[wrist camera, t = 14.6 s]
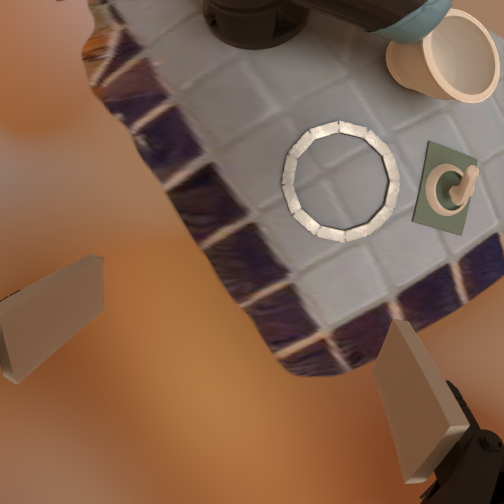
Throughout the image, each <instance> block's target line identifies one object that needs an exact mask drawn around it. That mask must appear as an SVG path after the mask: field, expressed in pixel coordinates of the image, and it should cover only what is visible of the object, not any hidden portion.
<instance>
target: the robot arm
mask: <svg viewBox="0 0 504 504" xmlns="http://www.w3.org/2000/svg"><path fill="white" fill-rule="evenodd" d="M452 1H453V0H203V14H204V18H205V21H206V23H207V24H208V26H209V27H210V29H211V30H212V32H213V33H214V34H215V35H216V36H217V37H218V38H219V39H221V40H222V41H224V42H225V43H227V44H229V45H232V46H235V47H238V48H243V49H266V48H271V47H275V46H278V45H280V44H283V43H285V42H287V41H288V40H290V39H292V38H293V37H294V36H296V35H297V34H298V33H299V32H300V31H301V29H302V28H303V27H304V25H305V23H306V21H307V18H308V15H309V9H311V10H314V11H317V12H320V13H323V14H326V15H329V16H331V17H334V18H337V19H340V20H342V21H345V22H347V23H350V24H352V25H355V26H357V27H360V28H362V29H364V31H365V32H367V33H369V34H374V35H379V36H381V37H383V38H386V39H388V40H390V41H393V42H395V43H398V44H413V43H416V42H418V41H420V40H422V39H423V38H425V37H426V36H427V35H428V34H430V33H431V32H432V31H433V30H434V29H435V28H436V27H437V26H438V24H439V23H440V22H441V21H442V20H443V18H444V17H445V16H446V14H447V13H448V11H449V10H450V8H451V6H452V4H451V2H452ZM103 263H104V258H103V257H101V256H97V255H93V254H90V255H87V256H85V257H83V258H81V259H79V260H77V261H75V262H74V263H71V264H69V265H67V266H65V267H63V268H62V269H60V270H58V271H56V272H54V273H52V274H50V275H49V276H46V277H45V278H42V279H41V280H39V281H37V282H35V283H33V284H31V285H29V286H28V287H26V288H24V289H22V290H18V291H16V292H15V293H13V294H11V295H10V296H7V297H6V298H4V299H3V300H0V366H1V369H2V372H3V375H4V377H6V378H7V379H9V380H10V381H12V382H13V383H15V384H16V385H18V384H19V383H20V382H21V381H22V380H23V379H24V378H26V377H27V375H29V374H30V373H31V372H32V371H33V370H34V369H36V368H37V367H38V366H39V365H40V364H41V363H42V362H43V361H45V360H46V359H47V358H48V357H49V356H50V355H51V354H53V353H54V352H55V351H56V350H57V349H58V348H59V347H60V346H62V345H63V344H64V343H65V342H66V341H68V340H69V339H70V338H71V337H72V336H73V335H75V334H76V333H77V332H78V331H79V330H80V329H82V328H83V327H84V326H85V325H86V324H88V323H89V322H90V321H91V320H92V319H94V318H95V317H96V316H97V315H98V314H99V313H101V312H102V311H103V310H104V301H103V300H104V298H103ZM373 373H374V377H375V380H376V383H377V386H378V389H379V392H380V396H381V399H382V402H383V405H384V409H385V412H386V415H387V419H388V422H389V425H390V429H391V432H392V436H393V439H394V443H395V447H396V450H397V454H398V458H399V461H400V465H401V469H402V473H403V477H404V481H405V483H419V482H425V480H427V478H428V477H429V476H430V475H431V474H432V473H433V472H435V475H436V478H437V480H436V481H435V482H434V483H433V484H432V485H431V486H430V487H429V488H428V489H427V490H426V491H425V492H424V493H423V494H422V495H421V496H420V498H421V499H422V498H423V497H424V496H425V497H424V499H423V500H422V502H421V504H504V444H503V442H502V440H501V439H500V438H499V436H498V435H496V434H495V433H493V432H492V431H489V430H481V429H480V427H479V425H478V423H477V422H476V420H475V418H474V416H473V414H472V413H471V411H470V409H469V408H468V407H467V405H466V402H465V401H464V400H463V397H462V396H461V394H460V392H459V391H458V389H457V388H456V387H455V386H454V385H453V384H452V383H451V382H450V381H445V380H444V378H443V376H442V375H441V373H440V371H439V370H438V368H437V366H436V365H435V363H434V361H433V360H432V358H431V356H430V355H429V353H428V352H427V350H426V348H425V347H424V345H423V344H422V342H421V341H420V339H419V337H418V336H417V334H416V333H415V331H414V330H413V328H412V327H411V325H410V324H409V322H408V321H403V320H397V319H393V320H392V323H391V326H390V328H389V331H388V334H387V336H386V339H385V341H384V344H383V346H382V348H381V351H380V353H379V356H378V358H377V360H376V363H375V365H374V367H373Z"/></svg>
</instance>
